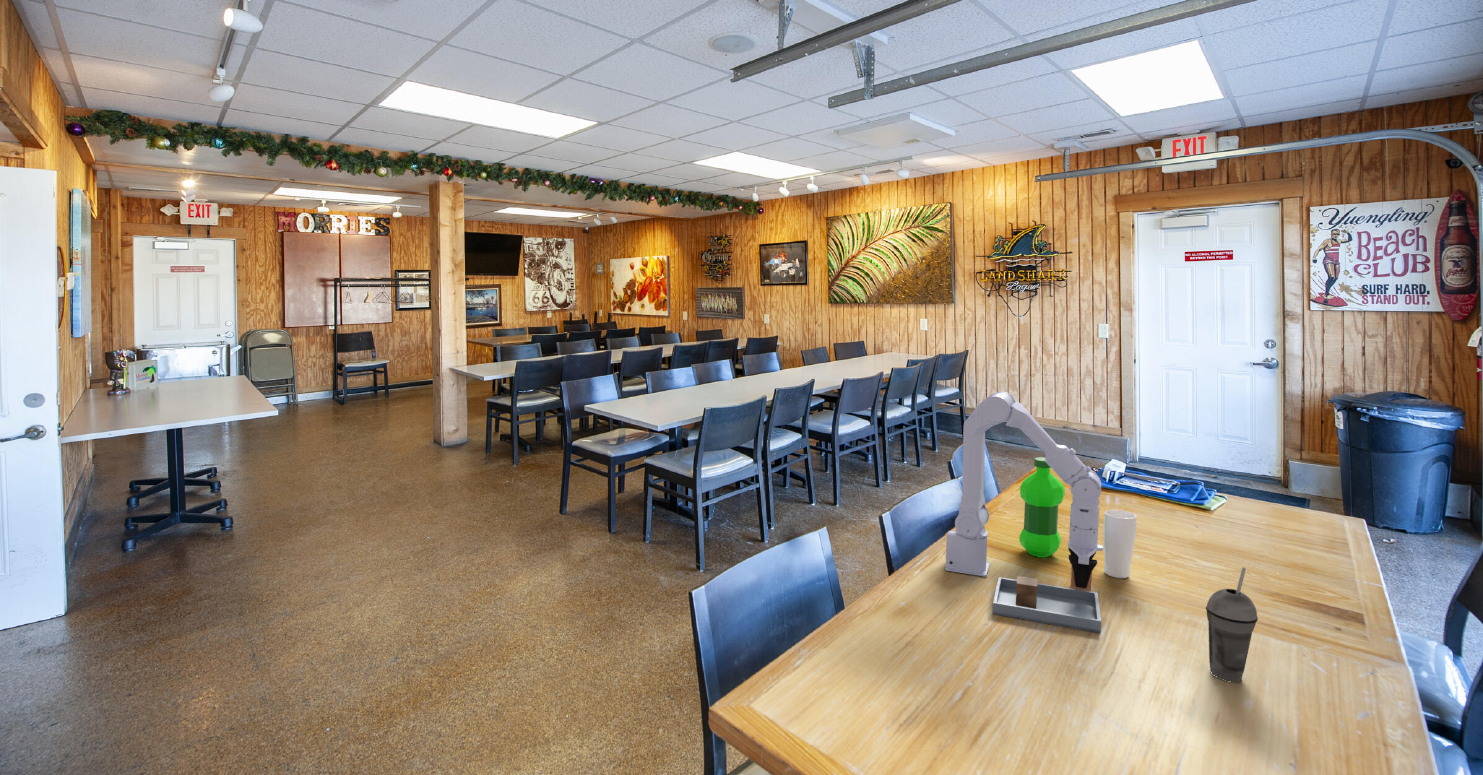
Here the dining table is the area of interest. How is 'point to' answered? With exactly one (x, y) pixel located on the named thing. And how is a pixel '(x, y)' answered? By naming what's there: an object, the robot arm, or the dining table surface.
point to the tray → (1051, 606)
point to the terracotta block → (1079, 587)
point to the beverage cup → (1230, 631)
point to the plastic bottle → (1041, 510)
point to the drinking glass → (1118, 542)
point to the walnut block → (1026, 592)
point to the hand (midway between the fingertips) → (1080, 583)
